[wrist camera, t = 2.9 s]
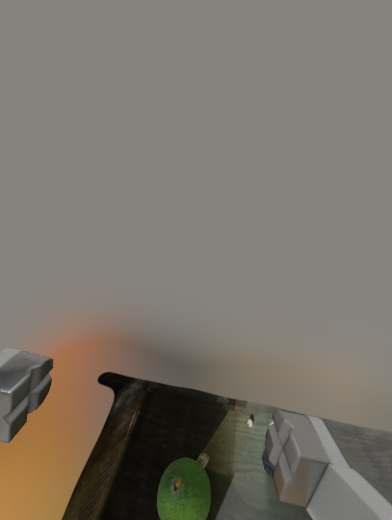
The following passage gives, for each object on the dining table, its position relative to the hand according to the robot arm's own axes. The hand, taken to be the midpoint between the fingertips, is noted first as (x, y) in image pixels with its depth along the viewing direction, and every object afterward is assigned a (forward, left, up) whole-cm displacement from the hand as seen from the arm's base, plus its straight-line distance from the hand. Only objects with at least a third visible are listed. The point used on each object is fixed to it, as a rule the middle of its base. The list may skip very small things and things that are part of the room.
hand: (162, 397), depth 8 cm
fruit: (+7, +7, -43) cm, 44 cm away
